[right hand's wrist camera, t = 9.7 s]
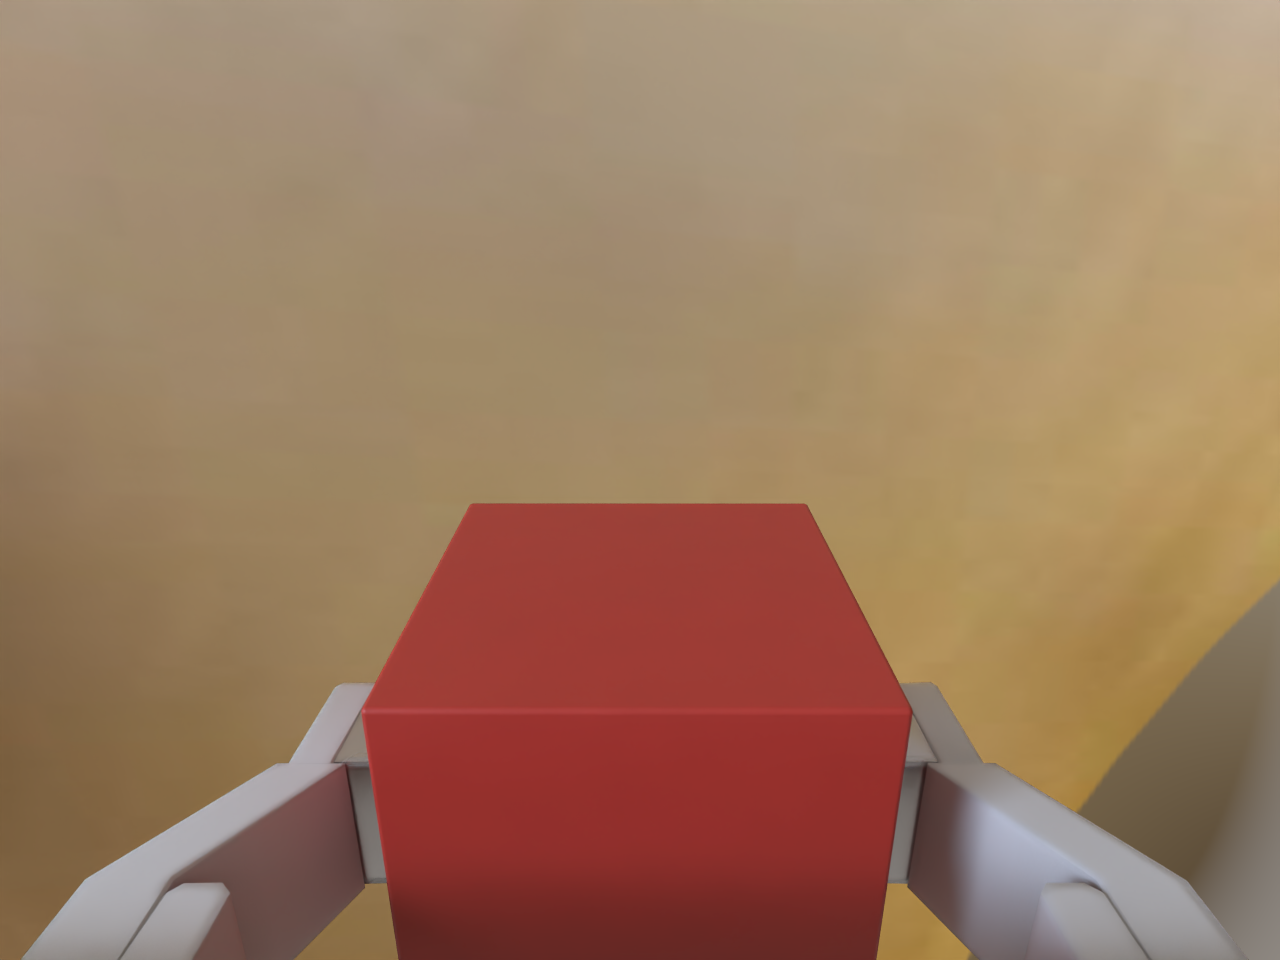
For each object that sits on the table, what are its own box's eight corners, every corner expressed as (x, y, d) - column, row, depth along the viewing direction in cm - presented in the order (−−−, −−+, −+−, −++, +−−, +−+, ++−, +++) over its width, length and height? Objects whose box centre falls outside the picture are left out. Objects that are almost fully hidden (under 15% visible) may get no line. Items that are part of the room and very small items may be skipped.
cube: (492, 781, 13) (416, 1091, 9) (469, 501, 11) (357, 709, 7) (784, 782, 13) (858, 1091, 9) (807, 502, 11) (917, 711, 7)
